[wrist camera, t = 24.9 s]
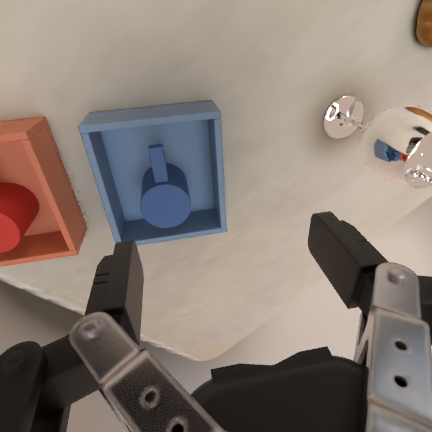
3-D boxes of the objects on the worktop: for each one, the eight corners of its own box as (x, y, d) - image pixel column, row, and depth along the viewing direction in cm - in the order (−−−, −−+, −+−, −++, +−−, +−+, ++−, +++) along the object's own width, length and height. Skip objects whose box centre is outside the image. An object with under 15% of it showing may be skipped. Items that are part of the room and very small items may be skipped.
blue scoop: (189, 199, 32) (193, 224, 28) (146, 205, 31) (145, 231, 27) (179, 128, 27) (183, 145, 23) (131, 134, 27) (126, 152, 23)
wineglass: (308, 137, 31) (380, 186, 21) (334, 80, 28) (431, 106, 18) (350, 149, 33) (436, 201, 23) (379, 97, 30) (491, 130, 20)
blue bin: (89, 112, 26) (77, 125, 22) (211, 99, 27) (220, 110, 23) (121, 223, 33) (117, 248, 29) (218, 209, 34) (226, 232, 30)
